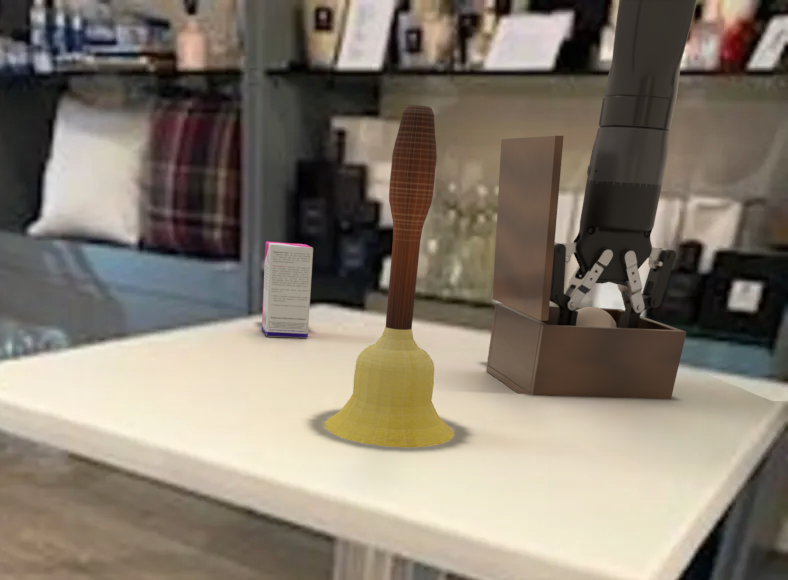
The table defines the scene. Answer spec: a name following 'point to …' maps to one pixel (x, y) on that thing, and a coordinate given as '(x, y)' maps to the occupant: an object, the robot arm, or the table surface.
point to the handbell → (399, 313)
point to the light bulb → (594, 318)
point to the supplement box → (286, 289)
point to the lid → (527, 223)
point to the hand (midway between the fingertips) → (594, 345)
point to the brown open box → (583, 356)
